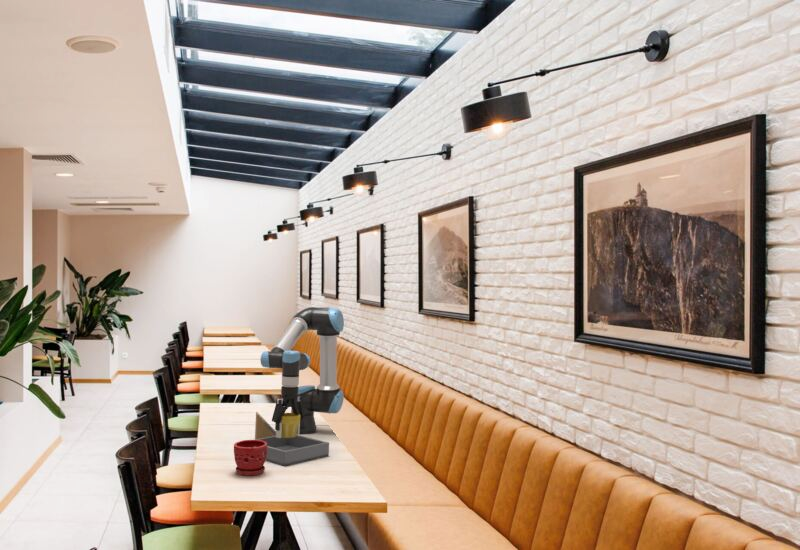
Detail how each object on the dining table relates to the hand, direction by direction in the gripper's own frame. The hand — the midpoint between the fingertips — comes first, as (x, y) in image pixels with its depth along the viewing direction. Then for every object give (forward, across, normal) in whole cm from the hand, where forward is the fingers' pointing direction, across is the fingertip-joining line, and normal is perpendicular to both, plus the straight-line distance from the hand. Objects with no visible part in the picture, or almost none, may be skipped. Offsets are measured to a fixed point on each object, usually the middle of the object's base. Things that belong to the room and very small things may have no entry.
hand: (287, 435), depth 318 cm
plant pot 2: (0, 0, 0) cm, 0 cm away
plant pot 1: (+9, +30, +11) cm, 33 cm away
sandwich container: (+9, -9, -21) cm, 24 cm away
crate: (+9, 0, 0) cm, 9 cm away
